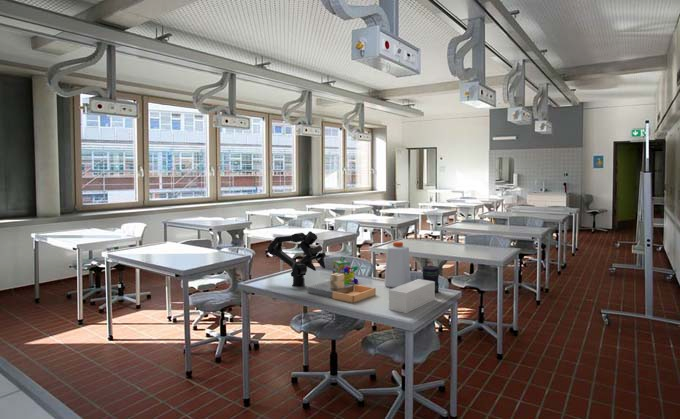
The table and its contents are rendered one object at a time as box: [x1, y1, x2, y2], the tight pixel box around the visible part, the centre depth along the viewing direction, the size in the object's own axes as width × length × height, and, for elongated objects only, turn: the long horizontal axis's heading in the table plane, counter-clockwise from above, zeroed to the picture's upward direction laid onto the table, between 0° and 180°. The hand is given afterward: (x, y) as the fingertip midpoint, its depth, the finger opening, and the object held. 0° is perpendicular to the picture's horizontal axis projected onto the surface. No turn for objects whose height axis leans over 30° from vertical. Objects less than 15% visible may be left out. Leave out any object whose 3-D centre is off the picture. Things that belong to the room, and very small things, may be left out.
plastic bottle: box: [384, 241, 412, 289], centre depth 298 cm, size 15×15×28 cm
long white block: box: [388, 278, 436, 314], centre depth 257 cm, size 32×11×11 cm, turn 142°
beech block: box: [329, 273, 345, 289], centre depth 280 cm, size 6×6×8 cm
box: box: [332, 284, 377, 304], centre depth 273 cm, size 15×22×4 cm
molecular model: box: [342, 265, 359, 285], centre depth 304 cm, size 12×7×12 cm, turn 130°
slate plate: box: [307, 280, 355, 299], centre depth 284 cm, size 20×20×4 cm
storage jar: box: [422, 265, 440, 294], centre depth 284 cm, size 10×10×15 cm
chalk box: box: [332, 256, 351, 279], centre depth 320 cm, size 9×9×15 cm
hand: (320, 269), depth 288 cm, fingers open, 9 cm apart
